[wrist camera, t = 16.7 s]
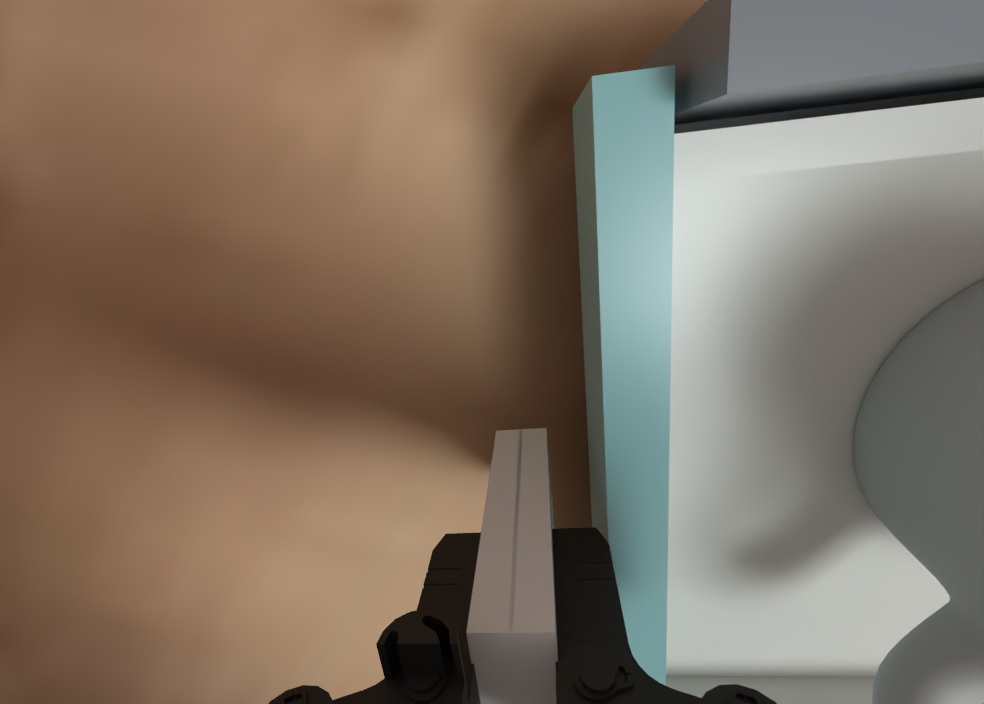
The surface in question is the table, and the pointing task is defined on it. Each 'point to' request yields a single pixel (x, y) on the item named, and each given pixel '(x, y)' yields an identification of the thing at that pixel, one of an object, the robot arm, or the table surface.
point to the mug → (932, 494)
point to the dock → (820, 58)
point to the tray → (759, 372)
